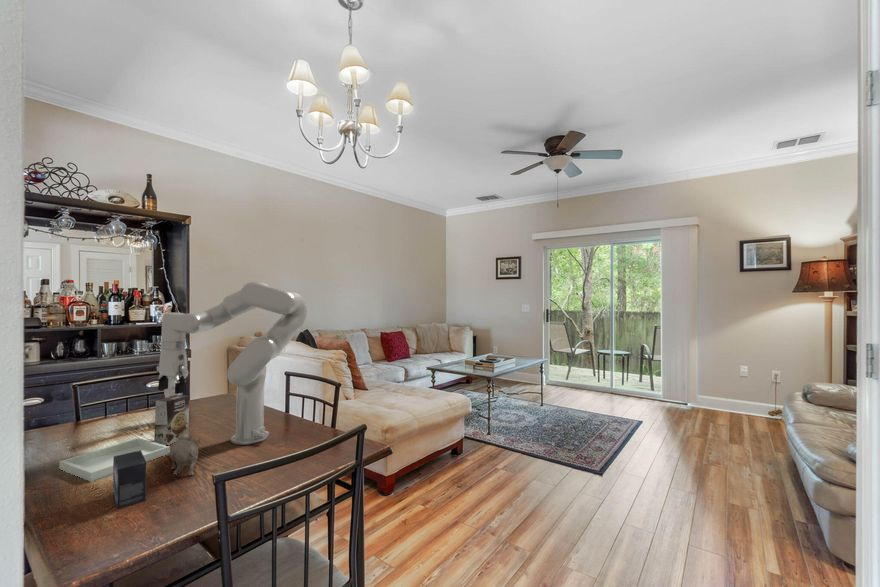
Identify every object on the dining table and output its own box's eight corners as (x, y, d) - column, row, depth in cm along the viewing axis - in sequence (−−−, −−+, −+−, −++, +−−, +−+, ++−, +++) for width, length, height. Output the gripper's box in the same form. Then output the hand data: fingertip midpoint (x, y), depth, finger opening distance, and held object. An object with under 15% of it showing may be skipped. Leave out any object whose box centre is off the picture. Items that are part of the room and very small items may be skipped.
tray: (169, 454, 133) (169, 446, 133) (90, 482, 113) (91, 473, 113) (138, 445, 141) (138, 437, 141) (59, 469, 121) (59, 461, 121)
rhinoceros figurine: (163, 476, 112) (173, 424, 120) (165, 487, 121) (173, 438, 130) (195, 473, 116) (202, 423, 124) (194, 484, 125) (200, 437, 134)
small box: (111, 493, 107) (112, 455, 107) (141, 486, 112) (141, 449, 112) (115, 509, 99) (116, 468, 100) (147, 500, 104) (147, 461, 104)
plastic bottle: (165, 419, 170) (166, 373, 170) (183, 417, 172) (184, 372, 172) (160, 423, 164) (160, 376, 164) (178, 422, 166) (179, 375, 166)
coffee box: (168, 446, 140) (169, 401, 141) (153, 444, 142) (154, 400, 142) (189, 437, 149) (190, 395, 149) (175, 435, 151) (176, 393, 151)
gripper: (198, 346, 146) (196, 392, 145) (169, 342, 153) (167, 386, 153) (177, 348, 139) (175, 396, 139) (148, 344, 146) (146, 390, 146)
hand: (171, 391), depth 146 cm, fingers open, 9 cm apart
